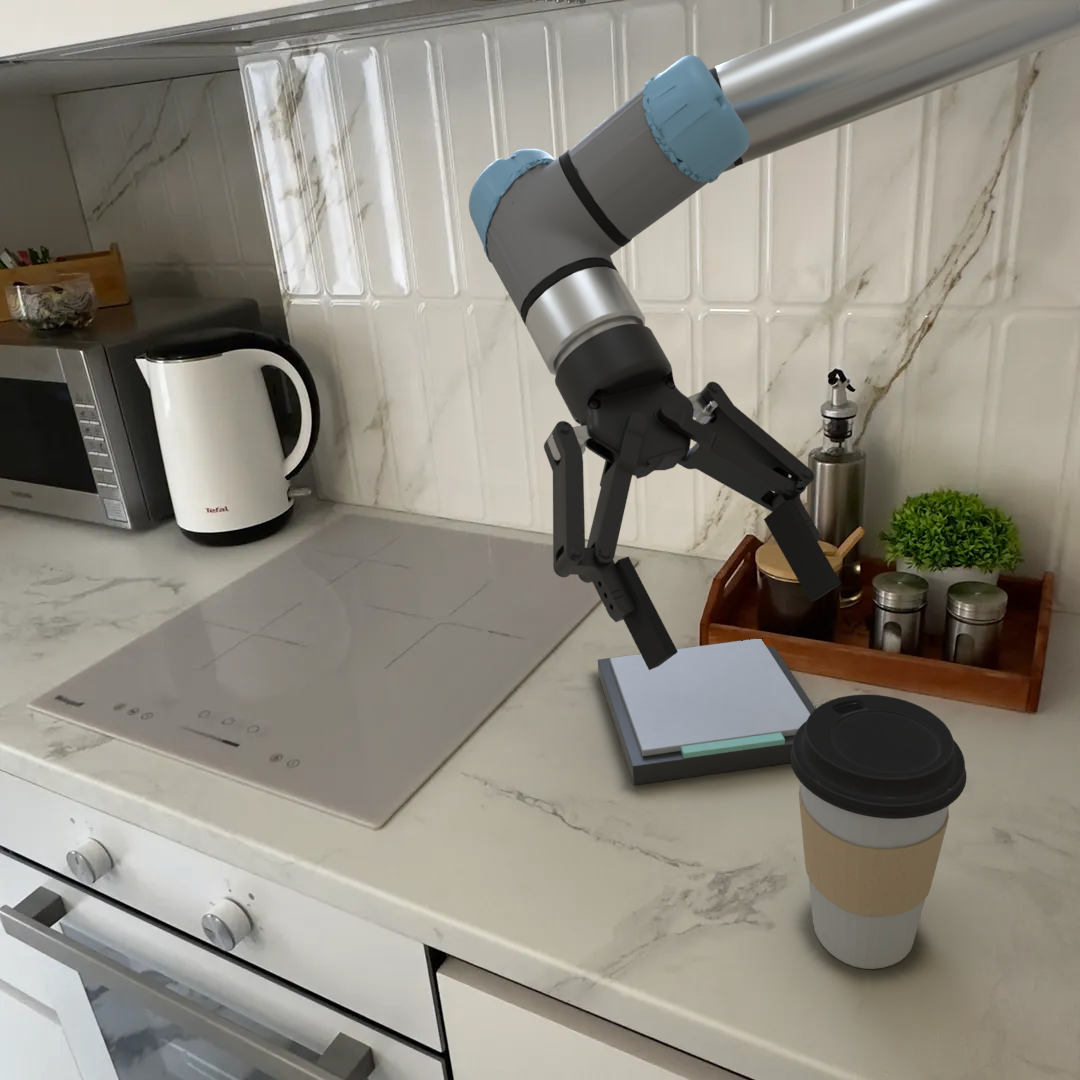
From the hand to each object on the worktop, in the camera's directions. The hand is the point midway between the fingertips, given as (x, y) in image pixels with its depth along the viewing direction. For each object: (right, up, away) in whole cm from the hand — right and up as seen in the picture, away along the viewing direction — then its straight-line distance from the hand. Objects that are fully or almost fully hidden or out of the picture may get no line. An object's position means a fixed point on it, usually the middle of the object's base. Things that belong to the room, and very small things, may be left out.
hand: (749, 626), depth 62 cm
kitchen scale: (+1, -9, +21) cm, 23 cm away
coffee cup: (+7, -19, -1) cm, 20 cm away
